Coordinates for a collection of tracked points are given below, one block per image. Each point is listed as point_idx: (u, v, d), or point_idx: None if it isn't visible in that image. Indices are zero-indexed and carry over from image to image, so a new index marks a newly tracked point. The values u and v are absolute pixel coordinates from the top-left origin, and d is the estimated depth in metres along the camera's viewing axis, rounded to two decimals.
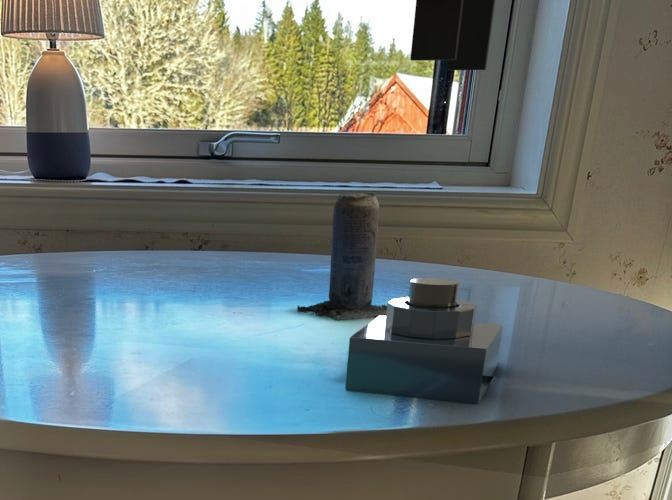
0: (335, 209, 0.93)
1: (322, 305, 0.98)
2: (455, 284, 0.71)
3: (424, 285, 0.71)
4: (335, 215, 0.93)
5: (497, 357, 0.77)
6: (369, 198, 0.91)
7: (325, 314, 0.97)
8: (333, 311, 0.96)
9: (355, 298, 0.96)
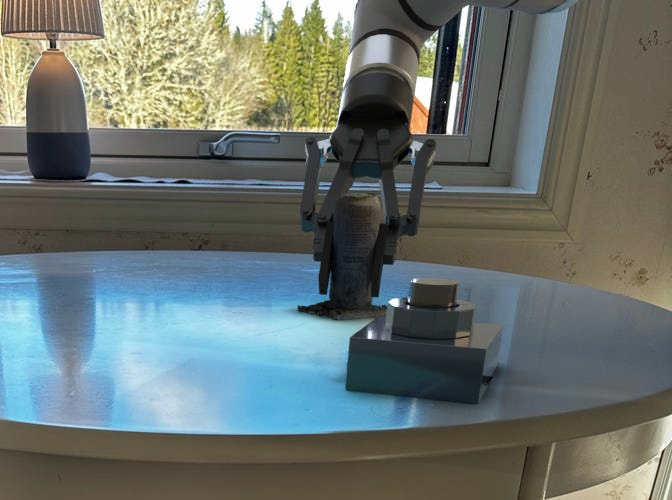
0: (336, 209, 0.93)
1: (322, 304, 0.98)
2: (455, 284, 0.71)
3: (424, 285, 0.71)
4: (336, 215, 0.93)
5: (497, 357, 0.77)
6: (370, 198, 0.91)
7: (325, 314, 0.97)
8: (333, 311, 0.96)
9: (356, 298, 0.96)
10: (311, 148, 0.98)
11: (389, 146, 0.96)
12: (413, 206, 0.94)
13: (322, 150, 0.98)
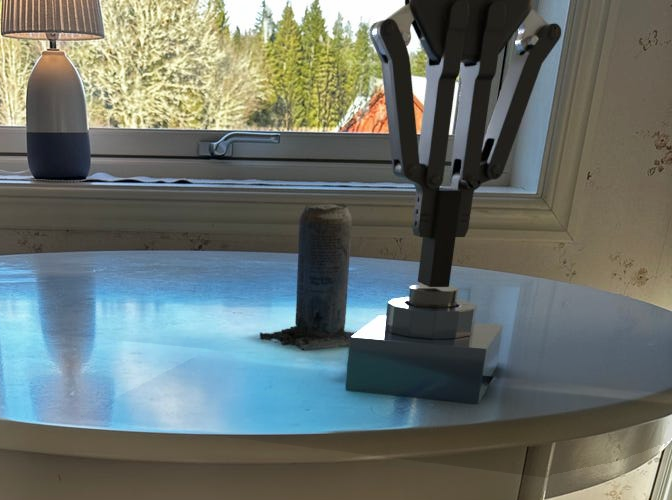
0: (301, 223, 0.80)
1: (288, 332, 0.86)
2: (454, 291, 0.71)
3: (423, 292, 0.71)
4: (301, 230, 0.81)
5: (497, 357, 0.77)
6: (339, 210, 0.79)
7: (291, 342, 0.84)
8: (300, 339, 0.83)
9: (325, 325, 0.83)
10: (393, 44, 0.63)
11: (498, 39, 0.63)
12: (499, 155, 0.67)
13: None
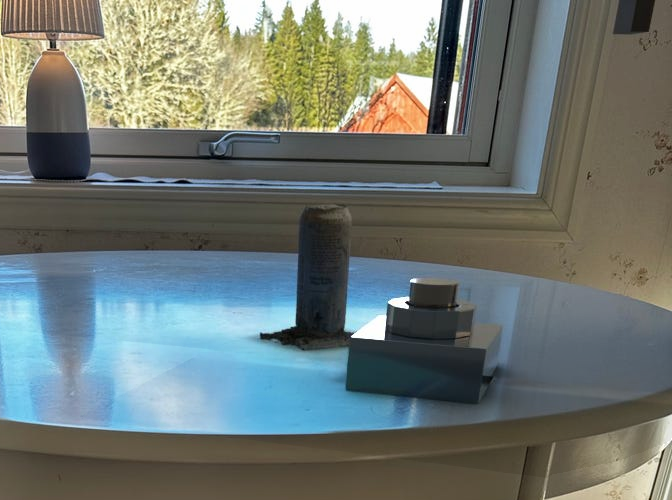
0: (301, 223, 0.80)
1: (288, 332, 0.86)
2: (455, 284, 0.71)
3: (424, 285, 0.71)
4: (301, 230, 0.81)
5: (497, 357, 0.77)
6: (339, 210, 0.79)
7: (291, 342, 0.84)
8: (300, 339, 0.83)
9: (325, 325, 0.83)
10: None
11: None
12: None
13: None
